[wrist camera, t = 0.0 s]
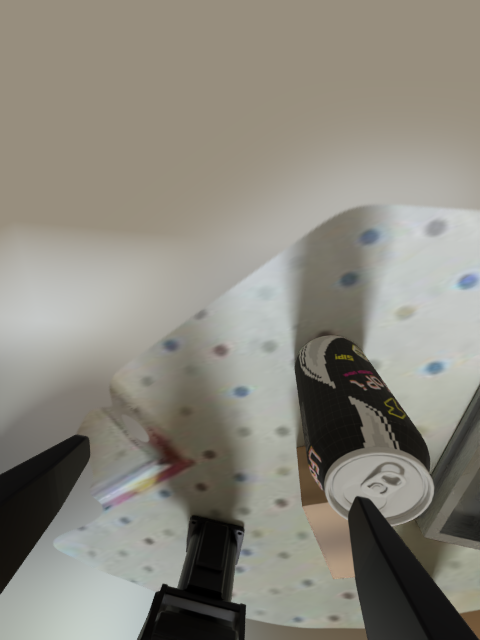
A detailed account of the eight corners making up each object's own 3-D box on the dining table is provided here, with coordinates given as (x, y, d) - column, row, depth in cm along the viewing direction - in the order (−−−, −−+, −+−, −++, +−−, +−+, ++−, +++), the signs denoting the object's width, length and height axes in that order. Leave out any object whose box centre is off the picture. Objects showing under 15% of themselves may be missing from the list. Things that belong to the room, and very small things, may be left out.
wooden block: (350, 506, 28) (369, 576, 22) (321, 510, 29) (332, 578, 23) (326, 440, 26) (341, 500, 20) (295, 447, 26) (301, 506, 21)
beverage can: (377, 353, 22) (484, 484, 11) (336, 401, 24) (389, 555, 13) (318, 319, 22) (364, 418, 10) (281, 371, 24) (287, 501, 12)
